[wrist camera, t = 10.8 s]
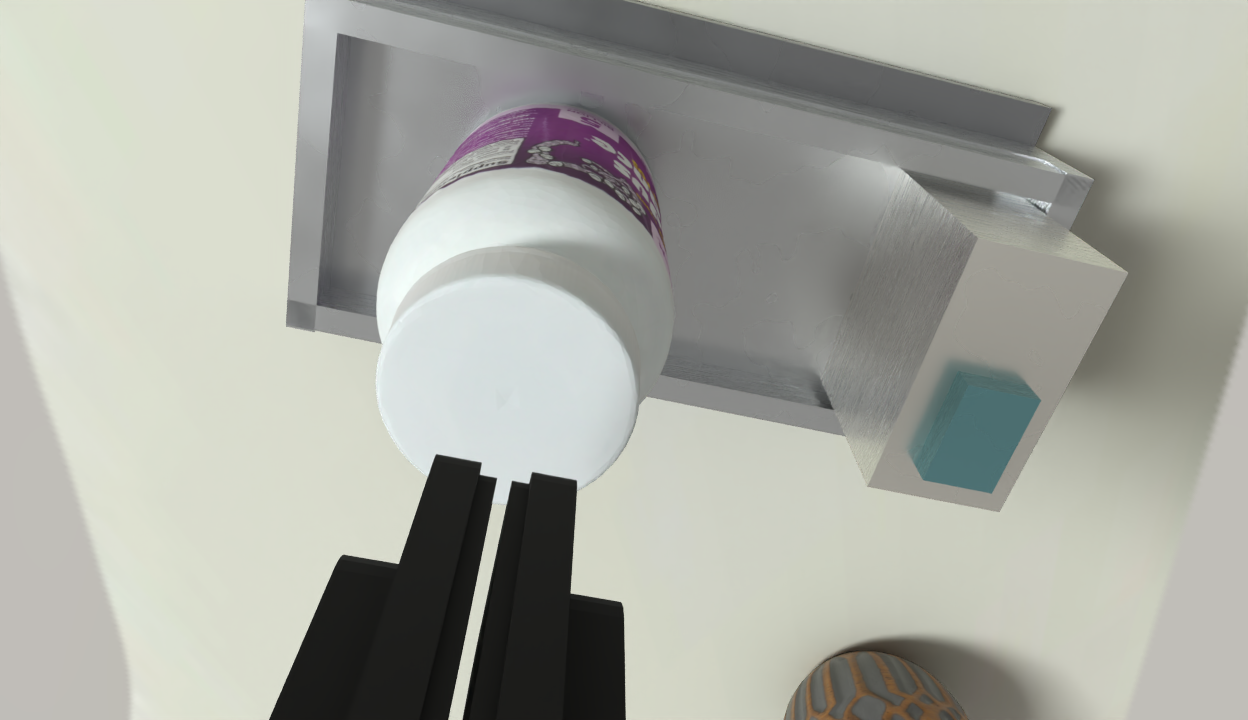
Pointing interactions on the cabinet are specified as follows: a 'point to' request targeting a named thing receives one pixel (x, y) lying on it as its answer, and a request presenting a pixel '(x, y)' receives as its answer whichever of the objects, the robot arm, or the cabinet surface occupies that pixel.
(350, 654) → the robot arm
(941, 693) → the vase
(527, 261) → the pill bottle
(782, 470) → the cabinet surface
